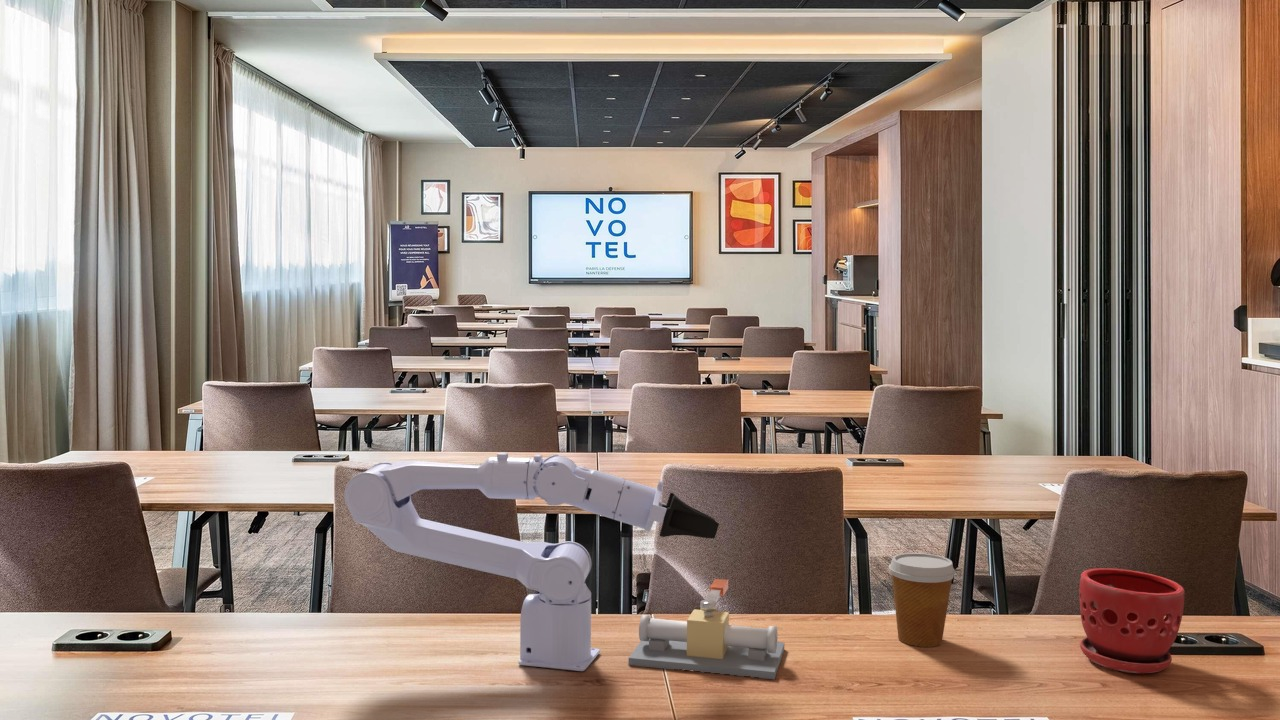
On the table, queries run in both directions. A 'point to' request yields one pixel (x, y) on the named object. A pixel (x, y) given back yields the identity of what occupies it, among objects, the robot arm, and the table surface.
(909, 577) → the disposable coffee cup
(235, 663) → the table surface
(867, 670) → the table surface
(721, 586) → the valve lever
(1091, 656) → the plant pot
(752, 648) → the valve board
